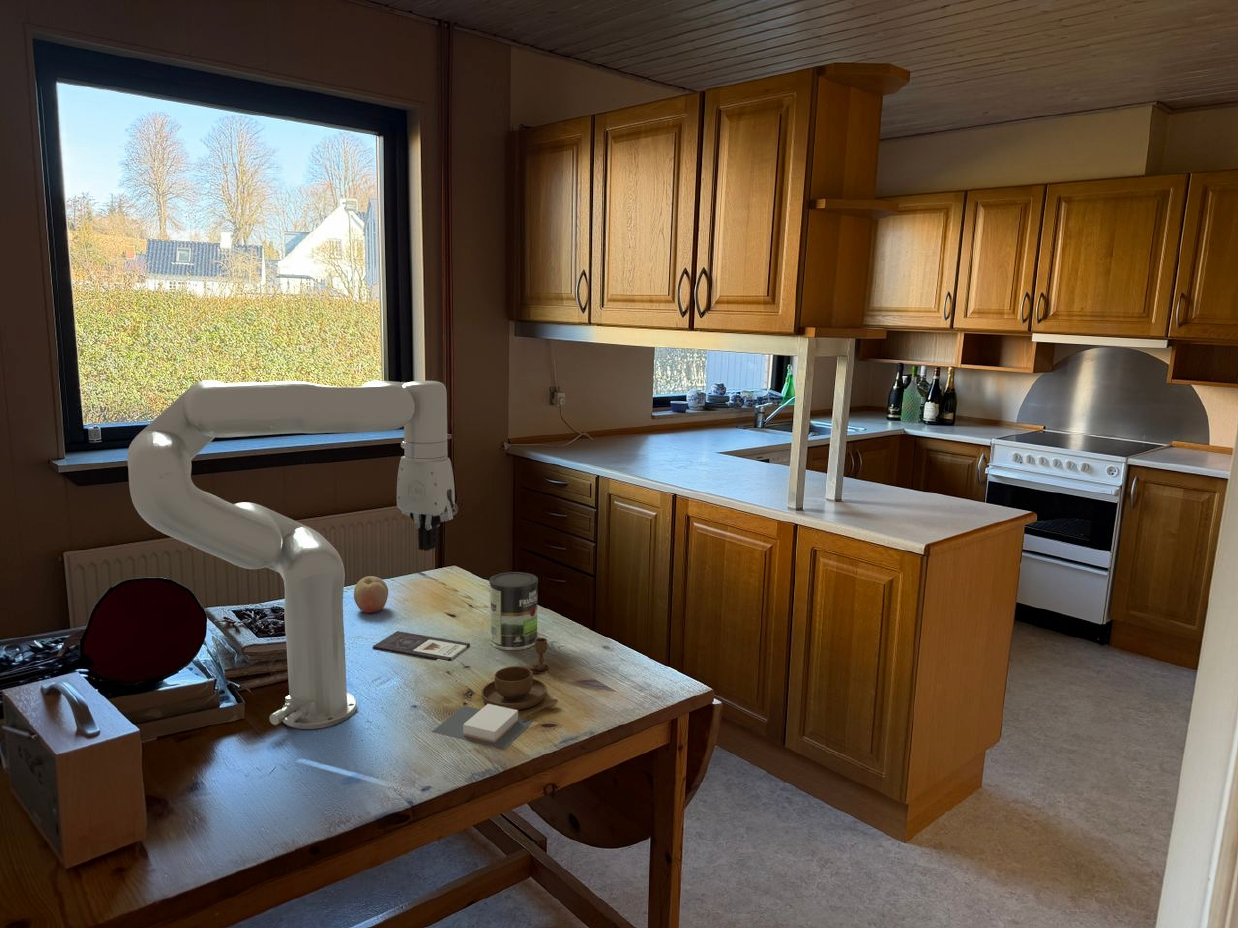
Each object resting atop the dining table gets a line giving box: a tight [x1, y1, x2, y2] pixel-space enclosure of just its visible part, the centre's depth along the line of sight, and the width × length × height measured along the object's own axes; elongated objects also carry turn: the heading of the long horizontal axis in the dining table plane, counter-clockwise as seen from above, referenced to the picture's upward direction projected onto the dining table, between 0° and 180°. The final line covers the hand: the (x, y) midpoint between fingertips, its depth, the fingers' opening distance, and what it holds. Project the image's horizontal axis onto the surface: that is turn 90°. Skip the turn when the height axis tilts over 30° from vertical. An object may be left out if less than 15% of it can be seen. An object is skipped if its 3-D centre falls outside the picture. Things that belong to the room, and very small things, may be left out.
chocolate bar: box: [372, 630, 471, 662], centre depth 175 cm, size 9×1×18 cm
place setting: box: [480, 637, 558, 719], centre depth 154 cm, size 18×20×6 cm
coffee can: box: [489, 571, 539, 651], centre depth 178 cm, size 10×10×14 cm
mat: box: [431, 705, 534, 750], centre depth 141 cm, size 10×14×1 cm
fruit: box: [353, 575, 389, 614], centre depth 194 cm, size 8×8×8 cm
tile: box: [463, 704, 519, 743], centre depth 141 cm, size 8×2×6 cm
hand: (427, 548), depth 152 cm, fingers closed
